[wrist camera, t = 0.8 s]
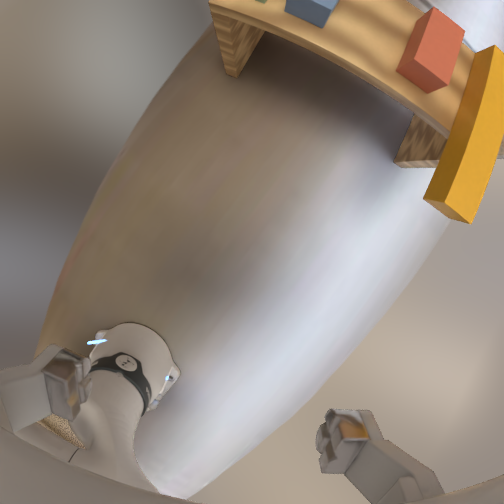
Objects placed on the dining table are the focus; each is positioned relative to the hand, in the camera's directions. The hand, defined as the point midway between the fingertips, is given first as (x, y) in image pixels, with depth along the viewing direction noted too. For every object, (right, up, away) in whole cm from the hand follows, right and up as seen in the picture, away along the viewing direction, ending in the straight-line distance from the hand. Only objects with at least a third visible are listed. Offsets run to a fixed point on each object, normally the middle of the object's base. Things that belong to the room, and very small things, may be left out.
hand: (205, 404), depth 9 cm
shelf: (+15, +32, +37) cm, 51 cm away
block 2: (+19, +25, +14) cm, 34 cm away
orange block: (+24, +18, +16) cm, 34 cm away
